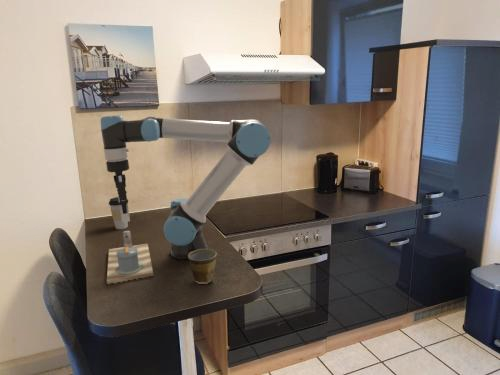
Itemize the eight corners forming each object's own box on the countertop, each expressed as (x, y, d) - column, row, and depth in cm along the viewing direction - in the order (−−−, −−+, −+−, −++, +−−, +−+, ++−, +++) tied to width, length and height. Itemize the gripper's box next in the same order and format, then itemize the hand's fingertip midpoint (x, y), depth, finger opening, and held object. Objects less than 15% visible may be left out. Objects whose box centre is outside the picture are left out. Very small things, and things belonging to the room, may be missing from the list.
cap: (139, 269, 142) (137, 251, 140) (118, 273, 140) (116, 255, 138) (138, 261, 149) (136, 244, 147) (118, 265, 147) (116, 247, 145)
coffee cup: (107, 229, 193) (103, 200, 189) (122, 223, 201) (118, 195, 197) (121, 231, 188) (117, 202, 185) (135, 225, 196) (132, 197, 193)
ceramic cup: (224, 279, 136) (222, 253, 134) (203, 290, 129) (200, 263, 127) (200, 269, 145) (198, 244, 142) (178, 279, 138) (176, 253, 135)
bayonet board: (109, 252, 164) (106, 229, 161) (148, 246, 168) (145, 224, 166) (107, 284, 136) (103, 257, 133) (153, 276, 141) (150, 249, 138)
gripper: (130, 164, 127) (138, 224, 132) (125, 153, 149) (132, 206, 155) (106, 166, 124) (115, 228, 129) (105, 156, 147) (113, 208, 152)
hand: (124, 216), depth 142 cm, fingers open, 13 cm apart
